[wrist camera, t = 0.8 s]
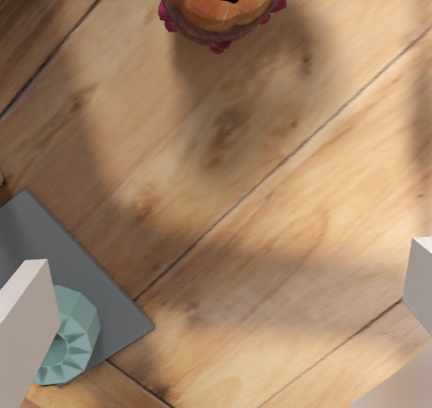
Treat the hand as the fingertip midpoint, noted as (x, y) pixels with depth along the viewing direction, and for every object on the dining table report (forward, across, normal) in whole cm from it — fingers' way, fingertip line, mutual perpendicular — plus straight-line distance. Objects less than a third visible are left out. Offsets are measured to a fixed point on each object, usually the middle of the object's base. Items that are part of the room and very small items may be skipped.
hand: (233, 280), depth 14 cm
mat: (+24, -18, -16) cm, 34 cm away
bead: (+24, -17, -19) cm, 35 cm away
